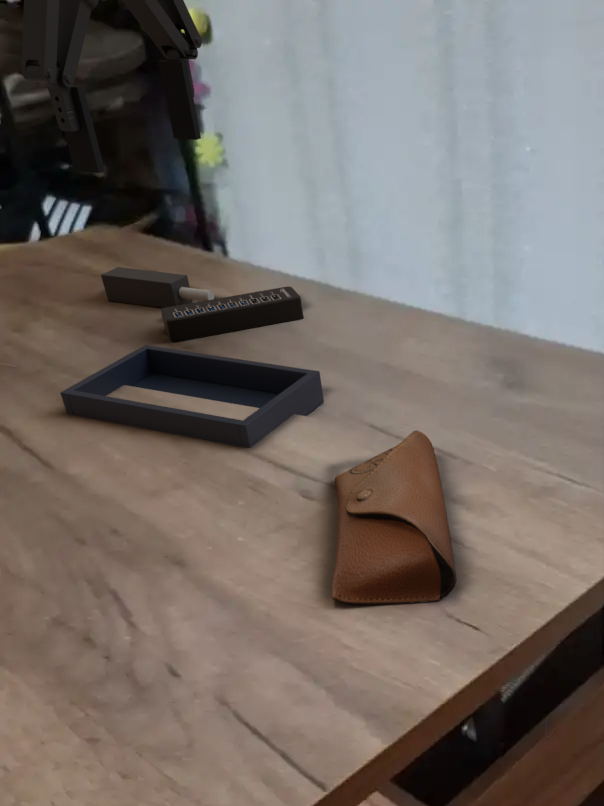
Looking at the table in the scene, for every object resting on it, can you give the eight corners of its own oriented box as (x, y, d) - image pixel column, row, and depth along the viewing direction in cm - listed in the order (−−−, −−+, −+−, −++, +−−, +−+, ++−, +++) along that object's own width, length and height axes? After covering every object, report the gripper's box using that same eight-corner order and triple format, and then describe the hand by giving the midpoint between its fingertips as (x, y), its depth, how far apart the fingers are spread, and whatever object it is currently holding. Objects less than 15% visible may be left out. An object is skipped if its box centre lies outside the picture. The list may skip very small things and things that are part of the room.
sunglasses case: (327, 472, 75) (362, 401, 72) (407, 504, 78) (444, 437, 75) (329, 606, 62) (372, 525, 58) (426, 639, 64) (472, 564, 61)
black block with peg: (107, 300, 111) (100, 274, 109) (124, 292, 113) (117, 266, 111) (205, 314, 106) (200, 286, 105) (221, 305, 109) (216, 278, 107)
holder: (70, 423, 85) (59, 392, 84) (153, 374, 94) (145, 344, 92) (252, 458, 79) (245, 425, 77) (324, 402, 87) (319, 370, 85)
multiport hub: (164, 329, 103) (159, 307, 102) (294, 305, 108) (290, 285, 106) (171, 342, 100) (166, 321, 99) (304, 318, 104) (301, 297, 103)
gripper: (-15, -145, 65) (76, 190, 78) (209, -145, 82) (253, 128, 95) (-93, -141, 67) (8, 183, 80) (141, -142, 85) (192, 124, 98)
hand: (141, 154), depth 88 cm, fingers open, 13 cm apart
